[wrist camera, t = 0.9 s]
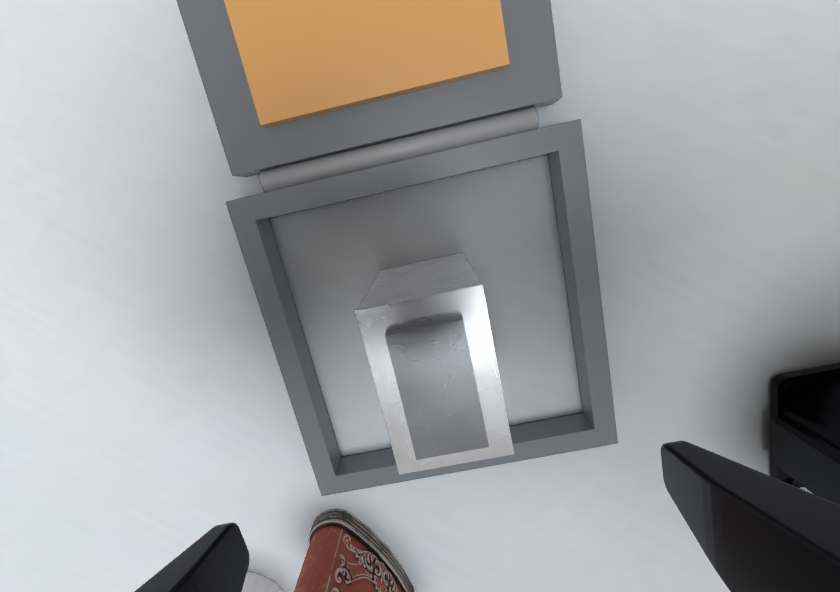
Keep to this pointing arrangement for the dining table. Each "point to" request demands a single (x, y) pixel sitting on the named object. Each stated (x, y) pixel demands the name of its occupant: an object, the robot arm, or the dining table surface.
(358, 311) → the block
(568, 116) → the dining table surface
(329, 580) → the red tin
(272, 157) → the lid
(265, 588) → the grey cup
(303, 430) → the gray square frame
